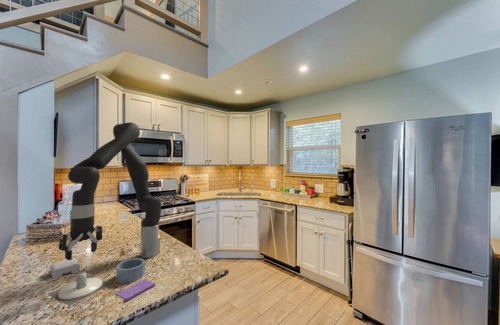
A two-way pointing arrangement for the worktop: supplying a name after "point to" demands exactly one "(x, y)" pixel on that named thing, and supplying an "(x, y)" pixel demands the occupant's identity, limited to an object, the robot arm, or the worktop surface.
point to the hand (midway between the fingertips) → (81, 255)
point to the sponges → (135, 290)
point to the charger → (64, 267)
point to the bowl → (130, 270)
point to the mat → (70, 302)
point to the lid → (80, 287)
